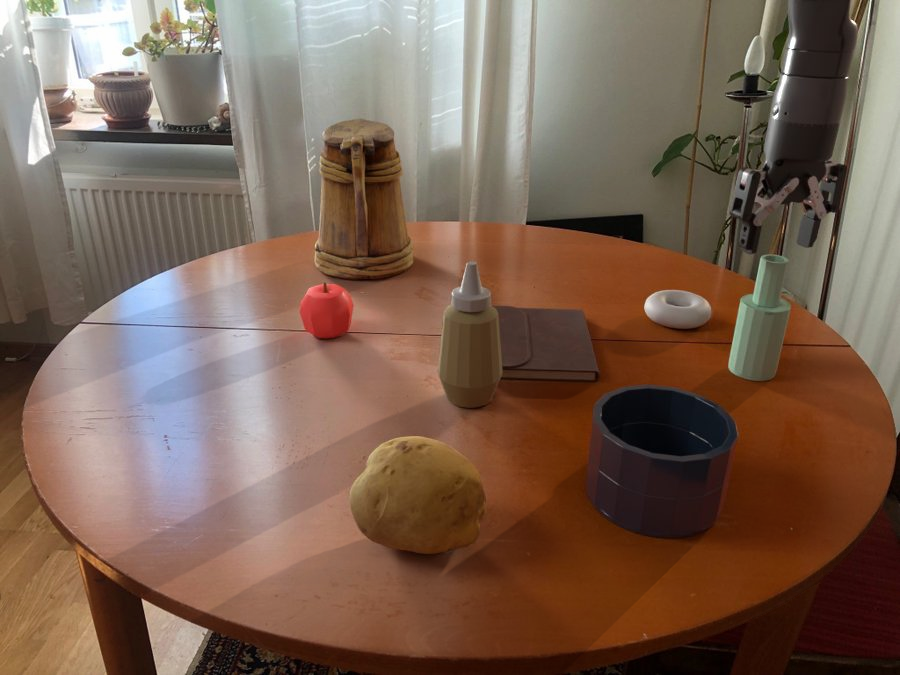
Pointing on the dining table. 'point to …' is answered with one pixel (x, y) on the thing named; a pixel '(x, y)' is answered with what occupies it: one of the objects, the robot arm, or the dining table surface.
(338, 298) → the apple
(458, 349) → the squeeze bottle
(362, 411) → the dining table surface
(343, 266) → the tankard
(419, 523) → the potato
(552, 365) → the notebook
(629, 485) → the pot
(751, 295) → the bottle
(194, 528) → the dining table surface
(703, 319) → the donut
